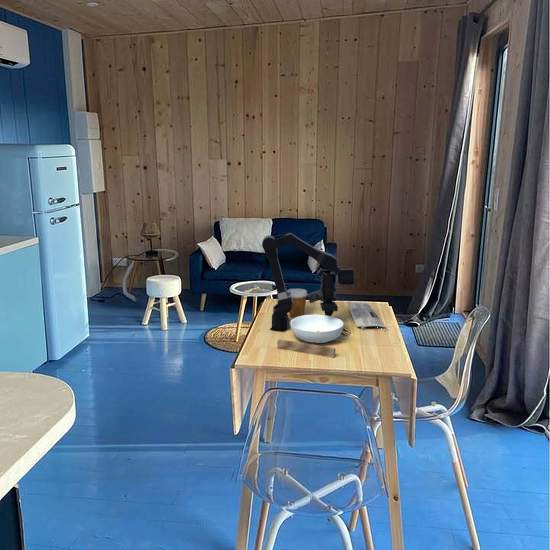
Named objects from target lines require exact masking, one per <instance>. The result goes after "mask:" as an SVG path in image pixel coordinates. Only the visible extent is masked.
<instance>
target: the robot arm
mask: <svg viewBox="0 0 550 550" xmlns="http://www.w3.org/2000/svg"><path fill="white" fill-rule="evenodd" d="M261 242H262V243H261V247H262V249H263V251H264V253H265V256H266V257H267V259H268V263H269V266H270V271H271V274H272V278H273V282H274V285H275V289H276V295H277V296H276V298H277V303H276V304H275V305H273V309H272V314H271V327H270V328H269V330H271V331H276V332H283V333H285V332H286V331H287V330H289V329H290V328H291V325H290V317H289V312H290V311H291V309H292V305H293V299H292V297H291V291H290V292H287V291H288V289H286V285H285V281H284V278H283V277H284V276H283V274H282V268H281V265H280V261H279V258H278V248H282V247H285V246H287V245H291V246H292V247H294V248H296V250H299V251H300V252H302V253H304V254H305V255H307V256H309V257H311V258H313V259H314V260H315V261H316V262H317V263H318V264H319V265H320V266H321V267H320V268H319V269H318V271H316V273H317V275H318V276H321V285H320V287H319V289H317V290H314V291H312V292H311V291H310V292H309V293H308V292H307V293H308V294H307V298H308V301H309V303H310V304H313V303H315V302H318V301H320V303H319V305H320V308H321V311H322V312H324V315H327V316H332V317H333V314H334V312H338V308H339V307H338V303H336V291H337V288H336V283H337V284H338V285H339V286H354V285H355V274H354V271H355V269H354V268H341V267H340V266H339V265H338V264H337V263H338V262H337V259H336V258H335V256H334V255H333V254H332V253H329V252H326V251H323V250H320V249H318V248H316V247H314V246H313V245H311V244H309V243H308V242H306V241H304V240H302V239H301V238H299V237H298V236H296V235H295V234H293V233H291V232H288V233H285V234H278V235H275V236H273V235H269V234H268V235H266V236H264V238H263V240H262V241H261ZM322 267H323V268H322Z"/></svg>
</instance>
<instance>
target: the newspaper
mask: <svg viewBox="0 0 550 550" xmlns="http://www.w3.org/2000/svg"><path fill="white" fill-rule="evenodd" d="M347 305H348V308H349V311H350V313H351V316H352V319H353V321H354V323H355V327H360V328H361V330H362V331H367V330H368V329H367V328H366V327H375V329H376V330H377V329H378V331H379V330H380V331H381V328H382V329H384V331H388V330H387V329H388V328H387V327H386V326H385V324H384V323H383V322H382V320H381V319H380V317H379V316H378V315H377V313H376V312H375V311H374V309H373V308H372V307H371V305H370V304H368V303H366V302H352V301H349V300H347ZM377 327H378V328H377Z"/></svg>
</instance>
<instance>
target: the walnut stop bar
mask: <svg viewBox="0 0 550 550" xmlns="http://www.w3.org/2000/svg"><path fill="white" fill-rule="evenodd" d="M277 349H278V350H279V349H280V350H285V351H291V352H298V353H301V354H309V355H314V356H320V355H321V357H327V358H332V359H333V358H335V357H336V347H332V346H325V345H317V344H312V343H306V342H298V341H293V340H287V339H278V340H277Z"/></svg>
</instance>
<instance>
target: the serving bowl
mask: <svg viewBox="0 0 550 550" xmlns="http://www.w3.org/2000/svg"><path fill="white" fill-rule="evenodd" d="M289 325H290V328H291V332H292V333H293V334H294V336H296V337H297V338H298V339H299V340H302V341H305V342H309V343H314V342H315V344H316V343H317V344H320V343H327V342H331V341H334V340H336V339H337V338H338V337H340V335H341V334H342V332H343V330H344V321H343V320H342V319H340V318H337V317H335V316H333V315H332V316H327V315H325V314H304V315H303V316H299V317H296V318H291V320H290V321H289ZM317 331H320V332H317Z"/></svg>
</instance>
